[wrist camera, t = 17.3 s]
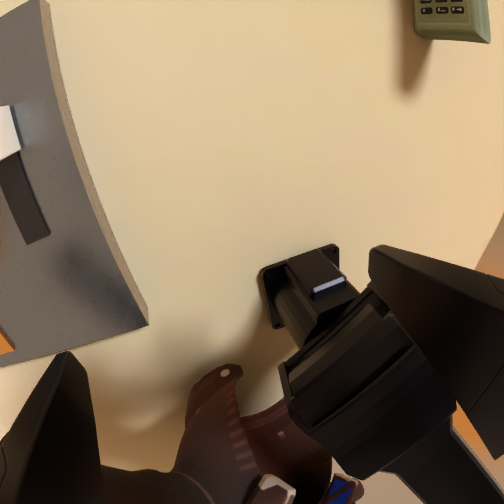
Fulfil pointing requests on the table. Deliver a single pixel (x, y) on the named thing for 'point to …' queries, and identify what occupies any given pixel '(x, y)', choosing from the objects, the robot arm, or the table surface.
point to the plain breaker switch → (7, 134)
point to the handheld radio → (452, 20)
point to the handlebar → (236, 458)
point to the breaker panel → (52, 212)
